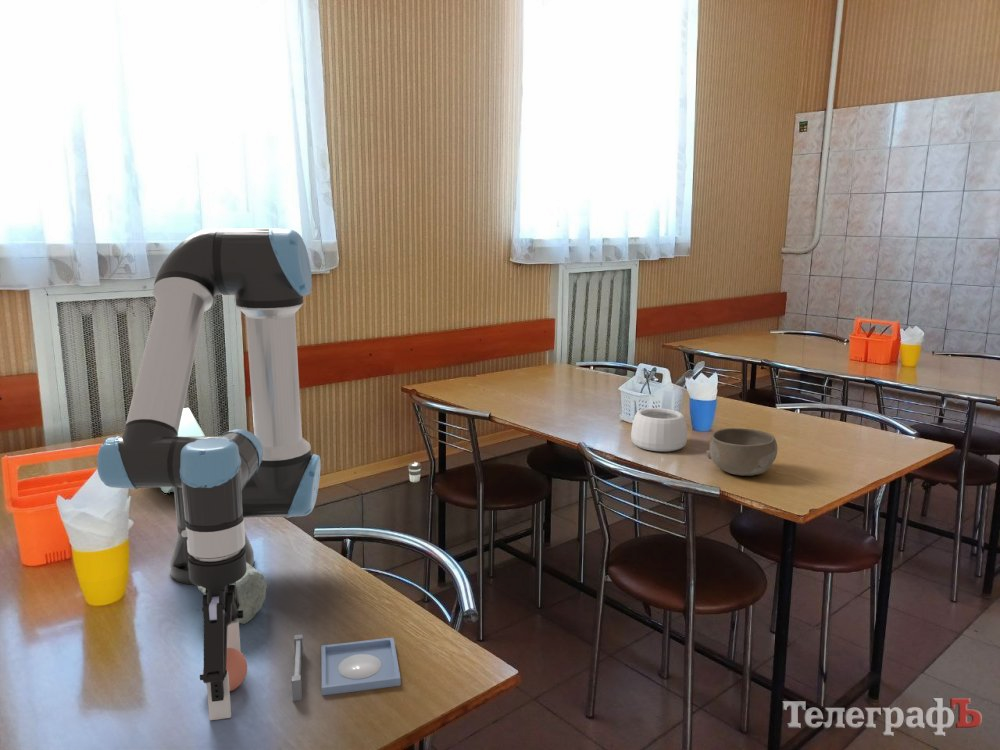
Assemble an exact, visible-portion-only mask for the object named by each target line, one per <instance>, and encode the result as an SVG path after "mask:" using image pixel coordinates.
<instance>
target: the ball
mask: <svg viewBox="0 0 1000 750" xmlns="http://www.w3.org/2000/svg"><path fill="white" fill-rule="evenodd" d="M226 670H227V671H228V675H229V689H230V692H232V691H234V690H236V689H237V688H238V687H240V686H241V685H242V683H243V682H244V680H245V678H246V676H247V673H248V662H247V659H246V658H245V656H244V654H243V653H242V652H239V651H238V650H236V649H233V648H227V663H226ZM203 674H204V667H203V669H202V675H203ZM205 685H206V686H207V683H205Z"/></svg>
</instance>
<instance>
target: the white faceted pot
mask: <svg viewBox="0 0 1000 750" xmlns="http://www.w3.org/2000/svg"><path fill="white" fill-rule="evenodd" d="M632 420H633V421H632V426H631V433H630V438H631V442H633V444H634V445H635V446H636V447H638V448H640V449H644V450H648V451H653V452H675V451H679V450H681V449H683V447H685V446H686V444H687V441H688V427H687V423H686V422H687V421H686V417H685V416H684V414H683V413H682V412H680V411H677V410H673V409H669V408H659V407H655V408H654V407H650V408H649V407H648V408H644V409H641V410H638V411H637V412H635V415H634V417H633V419H632Z"/></svg>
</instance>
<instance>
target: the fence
mask: <svg viewBox="0 0 1000 750" xmlns="http://www.w3.org/2000/svg"><path fill="white" fill-rule="evenodd" d="M293 641H294V643H293V644H294V658H295V659H294V674H293V675H292V676H291V692H292V693H291V694H292V702H296V701H297V702H298V701H302V699H303V696H302V695H303V694H302V693H303V691H302V689H303V688H302V675H301V672H302V671H301V669H302V658H304V638H303V634H302V633H301V634H294V637H293Z"/></svg>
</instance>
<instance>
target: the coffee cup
mask: <svg viewBox="0 0 1000 750" xmlns="http://www.w3.org/2000/svg"><path fill="white" fill-rule="evenodd" d="M407 466H408V467H407V470H408V475H409V481H410V482H411V483H418V482H420V479H421V473H422V472H421V471H422V470H421V469H422V464H421V463H420V462H416V461H414V462H410V463H409V464H408V465H407Z"/></svg>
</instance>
